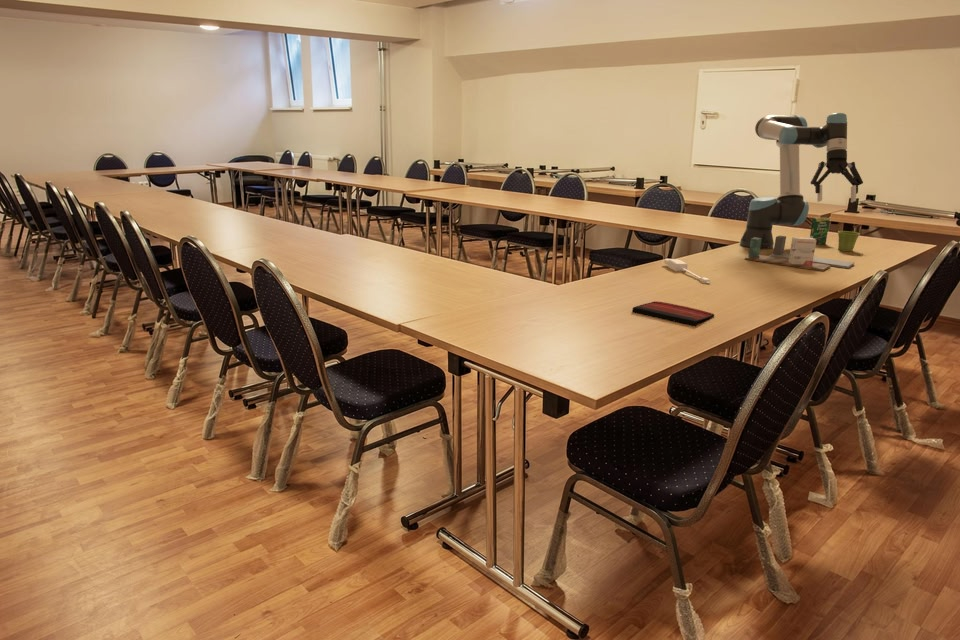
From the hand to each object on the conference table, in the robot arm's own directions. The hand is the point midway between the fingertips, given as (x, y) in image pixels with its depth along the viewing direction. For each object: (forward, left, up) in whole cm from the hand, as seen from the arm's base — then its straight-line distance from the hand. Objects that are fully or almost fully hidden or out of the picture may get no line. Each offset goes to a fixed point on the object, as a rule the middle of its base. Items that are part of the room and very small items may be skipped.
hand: (836, 201), depth 275 cm
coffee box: (-17, +55, -28) cm, 64 cm away
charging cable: (-36, -59, -28) cm, 75 cm away
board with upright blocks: (-13, -8, -27) cm, 31 cm away
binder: (-15, -116, -28) cm, 120 cm away
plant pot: (-2, +46, -28) cm, 54 cm away
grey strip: (-7, +6, -27) cm, 29 cm away
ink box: (-8, -8, -27) cm, 30 cm away
